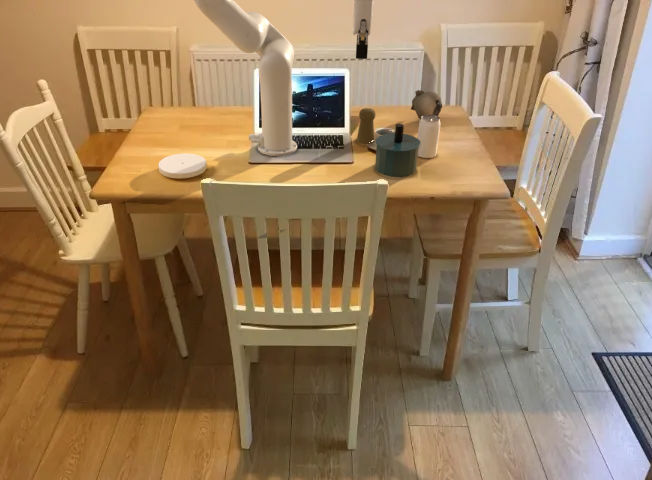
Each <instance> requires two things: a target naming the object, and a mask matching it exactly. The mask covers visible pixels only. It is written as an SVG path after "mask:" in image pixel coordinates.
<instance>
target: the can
mask: <svg viewBox="0 0 652 480" xmlns="http://www.w3.org/2000/svg"><path fill="white" fill-rule="evenodd" d="M440 120H441V118H440V116H439V115H438V116H436V115H423V116H422V117H421V120H420V119H419V121H418V129H417V136H416V138H417V139H419V140H420V142H421V145H420V147H419V148H418V155H417V158H421V159H433V158H435V157H436V156H437V152H438V145H439V139H440V132H441V131H440V130H441V121H440Z"/></svg>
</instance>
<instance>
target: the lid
mask: <svg viewBox="0 0 652 480" xmlns="http://www.w3.org/2000/svg"><path fill="white" fill-rule="evenodd" d="M404 129H405V124H404V123H396V124H395V128H394V132H390V133H384V134H381V135H379V136H378V137H376V139H375V144H376V147H377V146H378V147H380V148H382V149H384V150H387V151H391V152H410V151H414V150H416V149H418V148H419V147H420V145H421V142H420V140H419V139H417V136H414V135H411V134H407V133H404Z"/></svg>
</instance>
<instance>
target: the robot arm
mask: <svg viewBox="0 0 652 480" xmlns="http://www.w3.org/2000/svg"><path fill="white" fill-rule="evenodd" d="M194 3H195V5H196V6H197V8H198V9H199V10H200V12H201V13H202V14H203V15H204V16H205V17H206V18H207V19H208V20H209V21H210V22H211V23H213V25H214V26H215V27H217V28H218V30H220V32H221V33H222V34H224V36H225V37H226V38H227V39H228V40H230V41H231V42H232V44H233V45H234V46H236V47H237V48H238V49H239V50H240V51H241V52H243V53H246V54H253V53H256V54H257V55H258V56H259V60H258V77H259V90H260V108H261V109H260V111H261V114H260V115H261V133H259V134H251V133H249V134H248V141H251V142H250V143H251V144H257V150H258V152H259V153H261V154H263V155H265V156H270V157H277V156H285V155H286V156H287V155H290V154H292V153H294V152H296V151H297V149H298V143H297V142H296V141H294V140H293V81H292V70H293V65H294V60H295V53H296V52H295V49H294V46H293V45H292V43H291V42H290V41H289V39H288V38H286V37H285V36H284V35H283V33H281V32H280V31H279V29H277V27H275V26H274V25H273V24H272V23H271V22H270V21H269V20H268V18H266V16H264V15H263V14H261V13H259V12H256V11H246V10H244V9H243V8H242V7H241V6H240V5H239V4H238V3H237V2H236V1H235V0H194ZM374 5H375V0H354V3H353V17H352V18H353V20H352V35H353V36H356V43H355V46H356V47H355V59H356V60H367V59H368V51H369V50H368V49H369V36H370V35H371V31H372V24H373V17H374Z"/></svg>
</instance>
